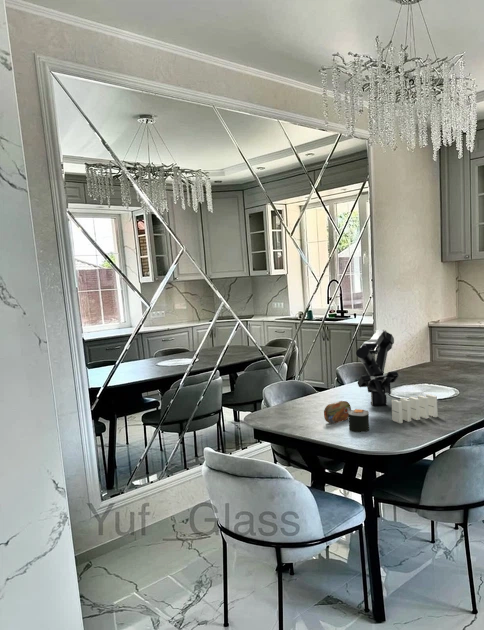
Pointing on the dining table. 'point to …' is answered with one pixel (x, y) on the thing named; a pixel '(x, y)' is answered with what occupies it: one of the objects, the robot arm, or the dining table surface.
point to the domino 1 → (397, 411)
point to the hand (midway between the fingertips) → (386, 394)
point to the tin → (337, 412)
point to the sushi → (358, 420)
